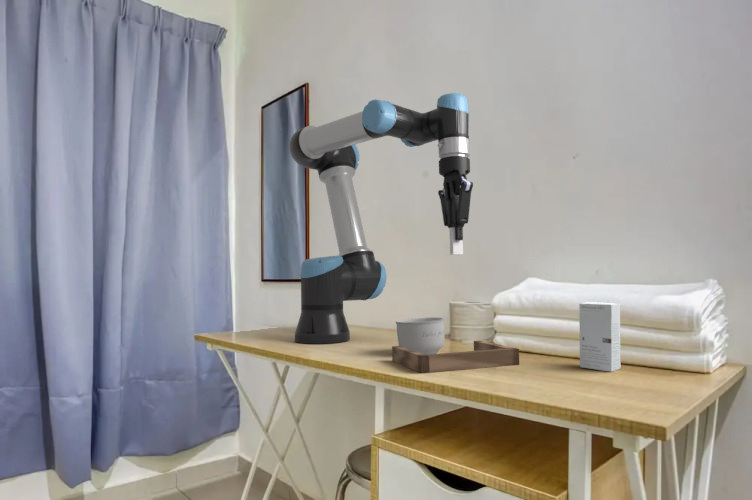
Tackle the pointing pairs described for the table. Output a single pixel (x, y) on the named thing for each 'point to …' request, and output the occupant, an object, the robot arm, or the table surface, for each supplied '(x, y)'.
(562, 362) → the table surface
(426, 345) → the teacup
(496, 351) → the brown wooden tray
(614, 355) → the skincare box
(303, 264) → the robot arm
